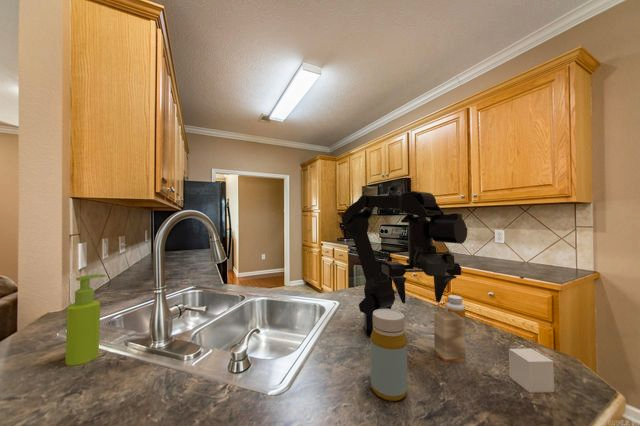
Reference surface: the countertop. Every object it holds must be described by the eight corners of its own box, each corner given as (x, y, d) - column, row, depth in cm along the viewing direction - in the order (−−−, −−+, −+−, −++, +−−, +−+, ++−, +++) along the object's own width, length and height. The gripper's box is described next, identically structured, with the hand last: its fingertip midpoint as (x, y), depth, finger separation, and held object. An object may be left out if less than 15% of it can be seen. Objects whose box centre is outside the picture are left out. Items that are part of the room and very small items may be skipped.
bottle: (407, 383, 52) (406, 310, 52) (407, 406, 45) (406, 323, 46) (373, 376, 54) (372, 306, 55) (368, 397, 48) (368, 318, 48)
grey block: (529, 392, 49) (528, 361, 49) (509, 376, 54) (508, 348, 54) (554, 392, 49) (553, 361, 49) (531, 376, 54) (531, 348, 54)
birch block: (444, 361, 60) (444, 319, 60) (434, 351, 65) (434, 312, 65) (465, 361, 60) (464, 319, 60) (453, 350, 65) (452, 311, 65)
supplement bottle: (469, 331, 76) (468, 299, 76) (451, 331, 76) (450, 299, 76) (459, 324, 81) (459, 294, 82) (443, 324, 81) (442, 294, 82)
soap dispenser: (108, 353, 63) (110, 274, 64) (72, 368, 57) (75, 279, 58) (96, 348, 66) (98, 272, 66) (60, 362, 59) (63, 277, 60)
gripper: (398, 244, 55) (398, 316, 54) (477, 243, 57) (478, 312, 56) (380, 239, 66) (380, 299, 65) (447, 239, 68) (447, 297, 67)
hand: (420, 302), depth 63 cm, fingers open, 9 cm apart
